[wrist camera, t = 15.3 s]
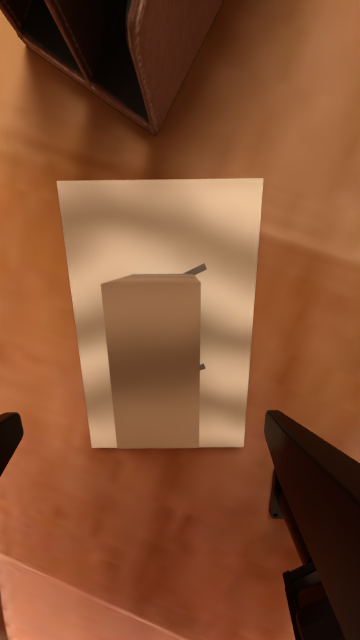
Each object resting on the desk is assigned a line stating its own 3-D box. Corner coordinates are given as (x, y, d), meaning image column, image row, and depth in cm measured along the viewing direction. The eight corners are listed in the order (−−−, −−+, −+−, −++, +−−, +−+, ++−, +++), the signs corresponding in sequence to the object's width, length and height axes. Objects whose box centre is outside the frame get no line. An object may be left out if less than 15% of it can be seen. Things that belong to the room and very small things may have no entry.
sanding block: (192, 381, 19) (199, 447, 12) (139, 382, 19) (117, 448, 12) (192, 273, 17) (200, 282, 10) (132, 274, 17) (100, 283, 10)
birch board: (239, 434, 22) (243, 447, 21) (97, 435, 22) (91, 447, 21) (256, 185, 17) (263, 178, 15) (67, 187, 17) (56, 180, 15)
